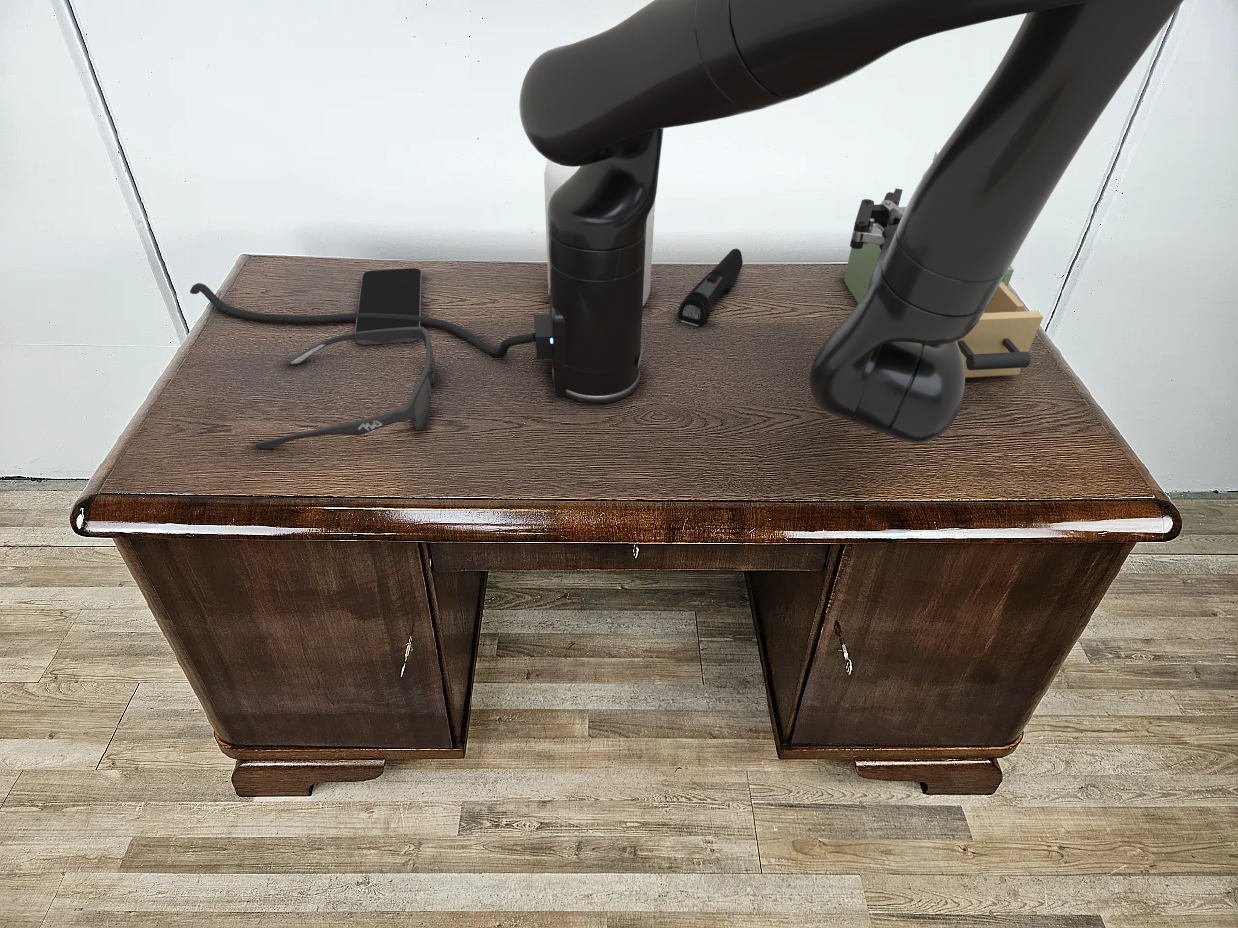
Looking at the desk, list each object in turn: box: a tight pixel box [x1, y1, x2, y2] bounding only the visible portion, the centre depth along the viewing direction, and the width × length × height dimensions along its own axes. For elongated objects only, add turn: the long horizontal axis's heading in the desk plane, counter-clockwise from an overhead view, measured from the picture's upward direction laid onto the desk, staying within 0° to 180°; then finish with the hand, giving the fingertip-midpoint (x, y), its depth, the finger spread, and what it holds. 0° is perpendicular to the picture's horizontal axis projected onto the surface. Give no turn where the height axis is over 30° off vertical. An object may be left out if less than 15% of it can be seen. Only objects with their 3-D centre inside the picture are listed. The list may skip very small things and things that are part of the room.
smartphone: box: [354, 267, 423, 346], centre depth 97 cm, size 7×1×15 cm
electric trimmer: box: [677, 248, 744, 327], centre depth 101 cm, size 4×16×3 cm, turn 153°
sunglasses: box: [255, 326, 436, 450], centre depth 83 cm, size 16×17×5 cm
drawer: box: [957, 281, 1044, 378], centre depth 89 cm, size 18×11×7 cm, turn 7°
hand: (940, 206), depth 82 cm, fingers open, 8 cm apart
